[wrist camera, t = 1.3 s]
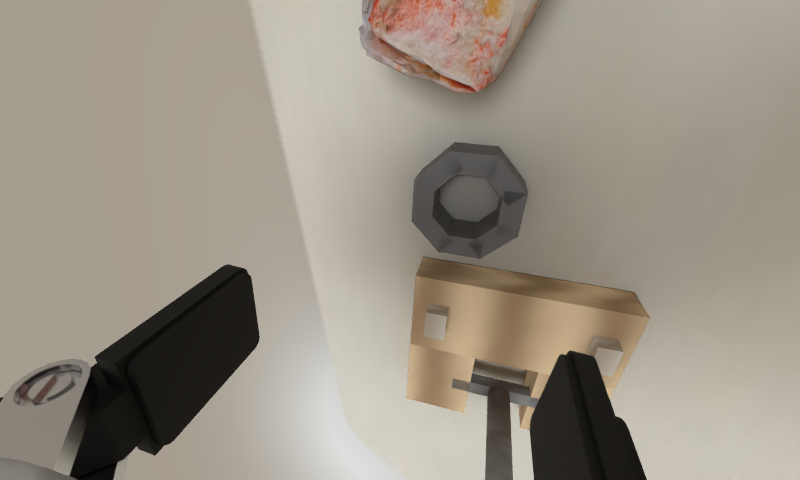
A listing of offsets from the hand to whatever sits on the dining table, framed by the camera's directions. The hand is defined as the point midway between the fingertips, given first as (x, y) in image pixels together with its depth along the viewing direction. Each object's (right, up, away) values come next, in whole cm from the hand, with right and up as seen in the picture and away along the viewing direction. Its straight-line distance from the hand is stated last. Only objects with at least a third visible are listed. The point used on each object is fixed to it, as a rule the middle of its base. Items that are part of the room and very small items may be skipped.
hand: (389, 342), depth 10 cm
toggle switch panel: (+10, -6, +20) cm, 23 cm away
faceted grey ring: (+5, +6, +15) cm, 17 cm away
